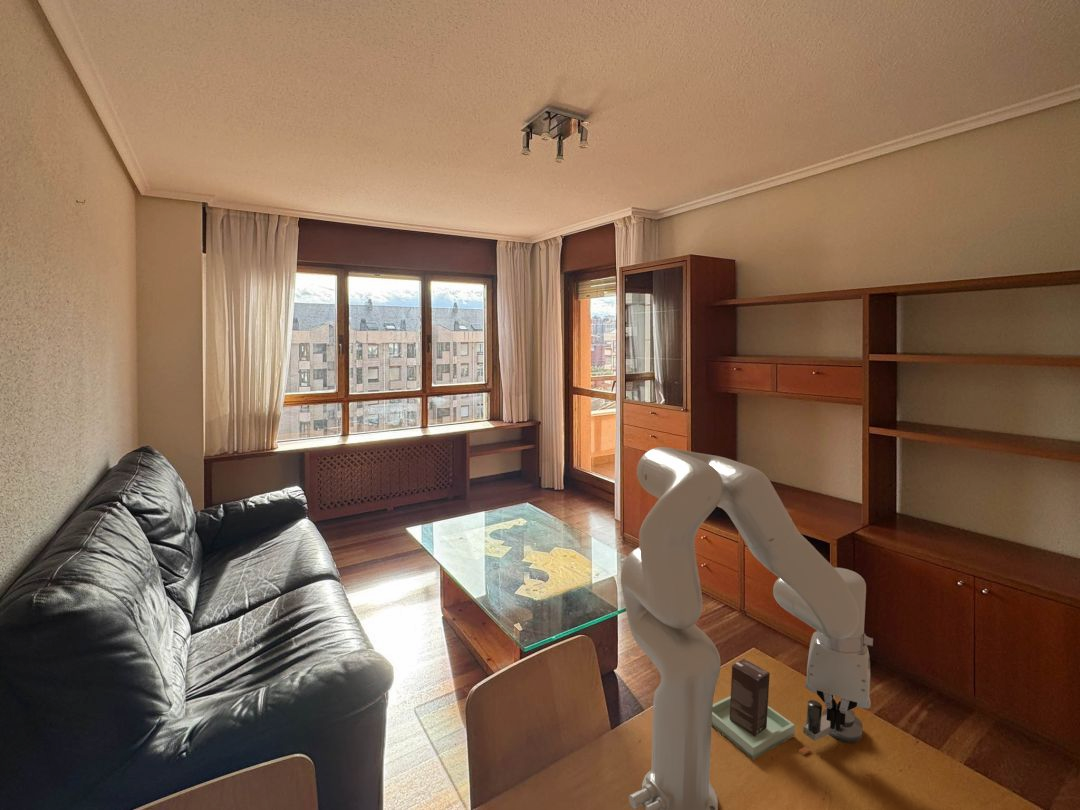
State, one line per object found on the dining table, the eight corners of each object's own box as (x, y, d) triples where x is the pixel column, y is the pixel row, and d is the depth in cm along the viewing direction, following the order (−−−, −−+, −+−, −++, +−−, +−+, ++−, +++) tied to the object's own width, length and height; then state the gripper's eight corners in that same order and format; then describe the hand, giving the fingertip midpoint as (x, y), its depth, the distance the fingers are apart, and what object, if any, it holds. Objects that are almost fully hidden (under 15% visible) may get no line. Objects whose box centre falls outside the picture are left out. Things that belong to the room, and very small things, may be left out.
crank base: (818, 766, 96) (819, 757, 95) (785, 741, 102) (785, 731, 101) (869, 734, 103) (870, 725, 103) (835, 712, 109) (835, 703, 109)
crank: (839, 709, 107) (841, 681, 106) (858, 722, 104) (860, 692, 103) (799, 729, 102) (801, 700, 101) (818, 744, 98) (820, 713, 97)
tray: (752, 760, 97) (753, 747, 97) (704, 719, 108) (704, 708, 107) (793, 736, 103) (794, 724, 103) (744, 699, 113) (744, 688, 113)
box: (767, 727, 104) (771, 672, 103) (754, 737, 102) (757, 681, 100) (741, 710, 109) (743, 657, 107) (727, 719, 107) (730, 665, 105)
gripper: (888, 638, 95) (883, 728, 98) (798, 615, 103) (795, 699, 106) (887, 660, 89) (882, 756, 91) (791, 634, 97) (789, 722, 100)
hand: (835, 725), depth 99 cm, fingers closed
